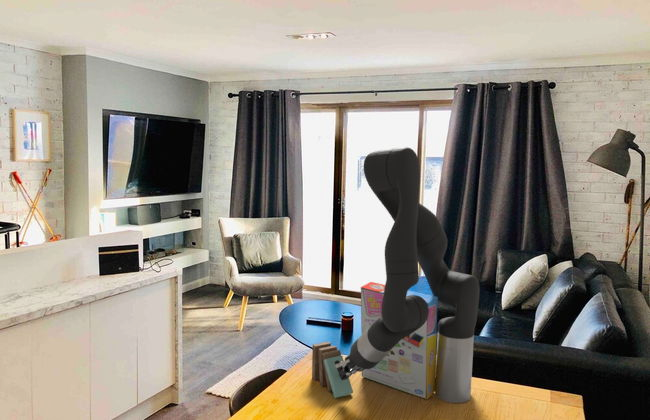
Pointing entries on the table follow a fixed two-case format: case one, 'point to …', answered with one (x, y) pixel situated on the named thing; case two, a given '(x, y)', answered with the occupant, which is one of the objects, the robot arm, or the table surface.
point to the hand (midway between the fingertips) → (342, 376)
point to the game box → (403, 347)
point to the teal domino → (337, 378)
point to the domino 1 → (317, 359)
